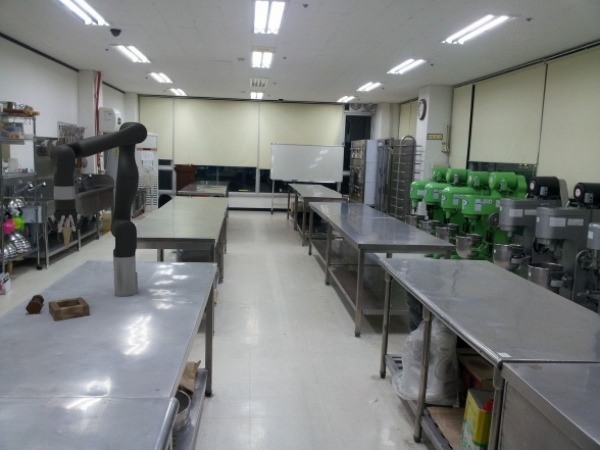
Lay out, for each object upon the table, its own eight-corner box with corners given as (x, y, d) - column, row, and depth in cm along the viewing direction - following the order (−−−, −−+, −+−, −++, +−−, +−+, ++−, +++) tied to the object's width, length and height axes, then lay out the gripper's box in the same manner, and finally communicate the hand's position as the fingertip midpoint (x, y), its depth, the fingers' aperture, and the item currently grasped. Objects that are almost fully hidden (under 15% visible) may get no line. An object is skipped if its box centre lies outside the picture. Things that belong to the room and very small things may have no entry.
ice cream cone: (62, 250, 191) (61, 213, 189) (77, 251, 192) (76, 214, 189) (56, 253, 186) (55, 215, 183) (72, 254, 186) (70, 216, 184)
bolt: (41, 306, 197) (36, 317, 183) (28, 301, 195) (23, 312, 181) (48, 294, 197) (44, 304, 183) (36, 289, 195) (31, 298, 181)
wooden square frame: (81, 306, 192) (81, 297, 192) (89, 315, 183) (89, 305, 182) (49, 311, 185) (48, 301, 185) (55, 321, 176) (54, 310, 175)
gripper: (81, 196, 192) (83, 237, 195) (42, 197, 184) (45, 241, 187) (86, 197, 186) (88, 240, 189) (46, 199, 178) (48, 244, 181)
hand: (66, 240), depth 188 cm, fingers closed on ice cream cone, 3 cm apart
